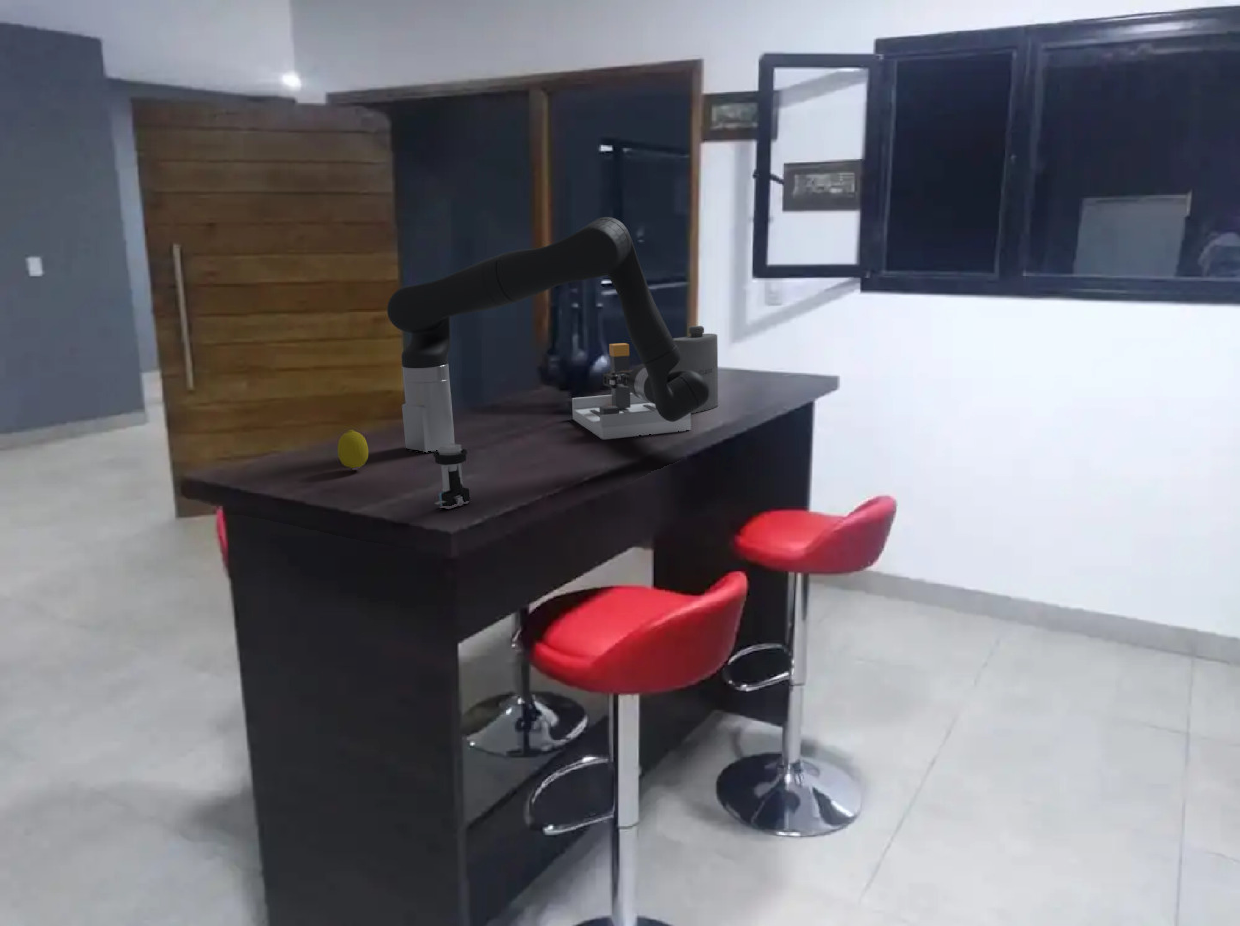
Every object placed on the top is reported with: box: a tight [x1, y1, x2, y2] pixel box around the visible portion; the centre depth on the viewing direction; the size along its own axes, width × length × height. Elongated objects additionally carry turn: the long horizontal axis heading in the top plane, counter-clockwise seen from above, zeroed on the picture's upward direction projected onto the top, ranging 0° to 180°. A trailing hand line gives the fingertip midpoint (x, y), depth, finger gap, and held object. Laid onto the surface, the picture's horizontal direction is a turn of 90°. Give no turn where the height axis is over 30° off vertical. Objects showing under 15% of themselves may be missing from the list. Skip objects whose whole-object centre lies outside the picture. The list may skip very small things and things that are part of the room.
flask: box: [671, 325, 719, 414], centre depth 217 cm, size 15×6×20 cm, turn 138°
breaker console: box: [571, 392, 692, 440], centre depth 204 cm, size 24×20×6 cm
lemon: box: [337, 429, 369, 469], centre depth 171 cm, size 6×6×8 cm
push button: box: [432, 443, 471, 506], centre depth 145 cm, size 7×5×10 cm
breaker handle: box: [608, 342, 631, 409], centre depth 207 cm, size 3×4×14 cm
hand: (627, 373), depth 202 cm, fingers open, 8 cm apart
